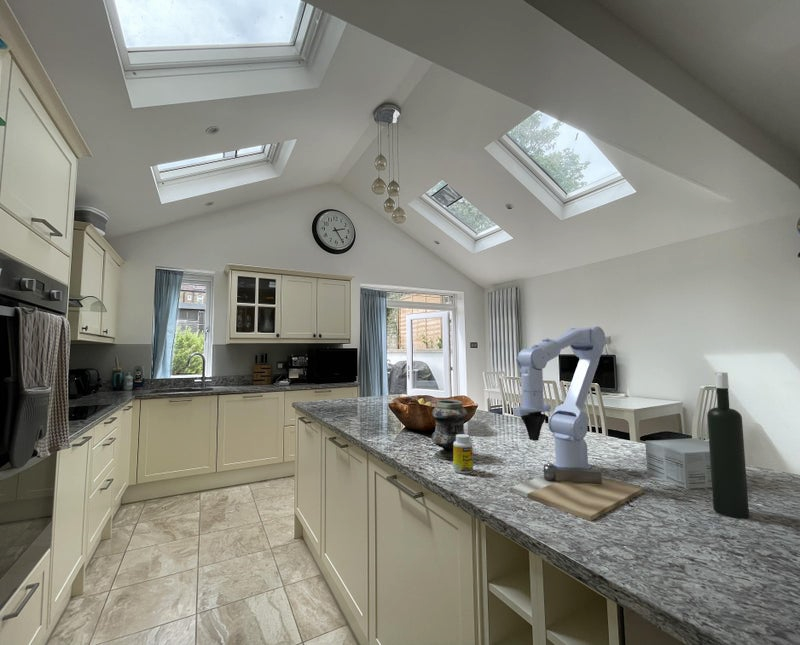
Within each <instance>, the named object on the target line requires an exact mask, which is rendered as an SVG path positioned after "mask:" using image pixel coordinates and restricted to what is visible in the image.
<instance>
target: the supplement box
mask: <svg viewBox="0 0 800 645" xmlns="http://www.w3.org/2000/svg"><path fill="white" fill-rule="evenodd" d="M644 442H645V457H646V458H645V460H646V474H647V473H648V474H649V475H653V476H655V477H657V478H659V479H662V480H665V481H667V482H669V483H672V484H675V485H677V486H679V487H681V488H684V489H686V488H687V490H688V489H700V488H701V489H702V488H712V480H711V465H710V450H709V440H705V439H701V438H696V437H693V438H692V437H691V438H677V439H676V438H674V439H659V440H658V439H655V440H644Z"/></svg>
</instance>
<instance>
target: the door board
mask: <svg viewBox="0 0 800 645" xmlns="http://www.w3.org/2000/svg"><path fill="white" fill-rule="evenodd" d="M569 468H582V467H569ZM584 469H590V468H584ZM644 490H645V489H644V487H641V486H638V485H634V484H630V483H626V482H622V481H619V480H615V479H612V478H607V477H603V476H602V484H598V483H584V482H570V481H550V480H546V479H544V475H542V476H538V477H535V478H533V479H530V480H527V481H523V482H521V483H519V484H515V485H513V486H510V487H509V491H510V493H512V494H513V493H514V494H516V495H518V496H521V497H524V498H527V499H530V500H532V501H535V502H538V503H539V504H544V505H545V506H549V507H552V508H554V509H557V510H560V511H562V512H564V513H568V514H571V515H573V516H577V517H579V518H582V519H583V520H587V521H590V522H592V521H594V520H595V519H597V518H599V517H601V516H602V515H604V514H607V513H609V512H610V511H612V510H614V509H615V508H617V507H619V506H621V505H622V504H624V503H627V502H629V501H631V500H632V499H634V498H636V497H638V496H640V495H641V494H643V493H644V492H645V491H644Z"/></svg>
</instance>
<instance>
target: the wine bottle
mask: <svg viewBox="0 0 800 645" xmlns="http://www.w3.org/2000/svg"><path fill="white" fill-rule="evenodd" d="M714 378H715V380H714V381H715V388H716V401H717V407H713V408H710V409H709V410H708V411H707V414H706V416H707V419H706V420H707V433H708V435H707V436H708V441H709V450H710V465H711V480H712V487H711V492H712V493H711V494H712V495H711V496H712V509H713V511H714V512H716V513H717V514H719V515H722V516H725V517H729V518H733V519H743V520H744V519H748V518H750V509H749V507H750V506H749V495H748V481H747V479H748V478H747V469H746V468H747V467H746V456H745V441H744V429H743V428H744V426H743V425H744V424H743V417H742V414H741V413H740V412H739V411H738V410H736V409H733V408H730V396H729V395H730V394H729V389H730V388H729V374H728V372H723V371H722V372H721V371H717V372H714Z"/></svg>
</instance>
